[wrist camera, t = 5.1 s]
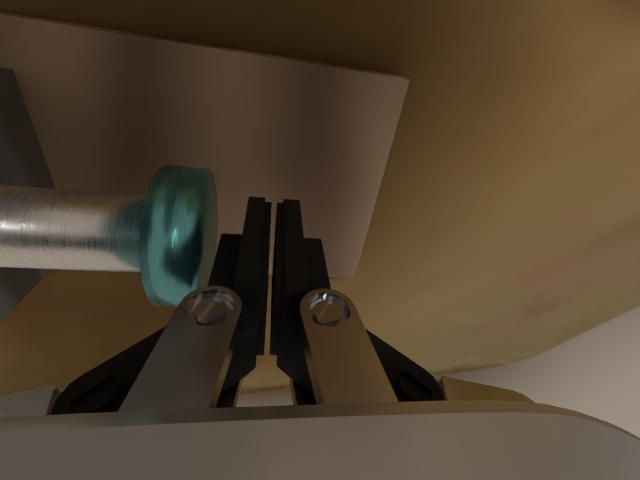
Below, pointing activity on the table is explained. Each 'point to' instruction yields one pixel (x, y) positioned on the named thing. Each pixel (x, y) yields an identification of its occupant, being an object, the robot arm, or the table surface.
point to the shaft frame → (193, 128)
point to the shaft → (118, 231)
